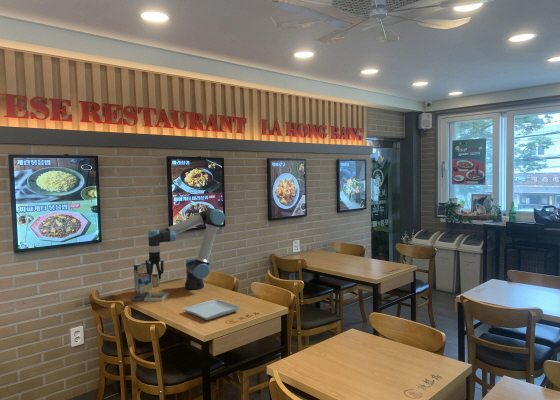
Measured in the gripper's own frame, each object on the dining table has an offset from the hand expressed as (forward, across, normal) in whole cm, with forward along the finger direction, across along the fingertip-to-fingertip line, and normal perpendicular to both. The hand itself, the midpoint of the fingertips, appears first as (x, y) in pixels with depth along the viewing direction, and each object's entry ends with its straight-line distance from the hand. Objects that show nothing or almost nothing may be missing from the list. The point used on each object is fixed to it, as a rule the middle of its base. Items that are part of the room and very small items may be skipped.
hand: (155, 283), depth 294 cm
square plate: (+12, -48, +29) cm, 57 cm away
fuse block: (+12, +12, -1) cm, 17 cm away
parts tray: (+12, 0, 0) cm, 12 cm away
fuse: (+11, +12, -6) cm, 17 cm away
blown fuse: (+3, 0, 0) cm, 3 cm away
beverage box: (+12, +16, -17) cm, 26 cm away
